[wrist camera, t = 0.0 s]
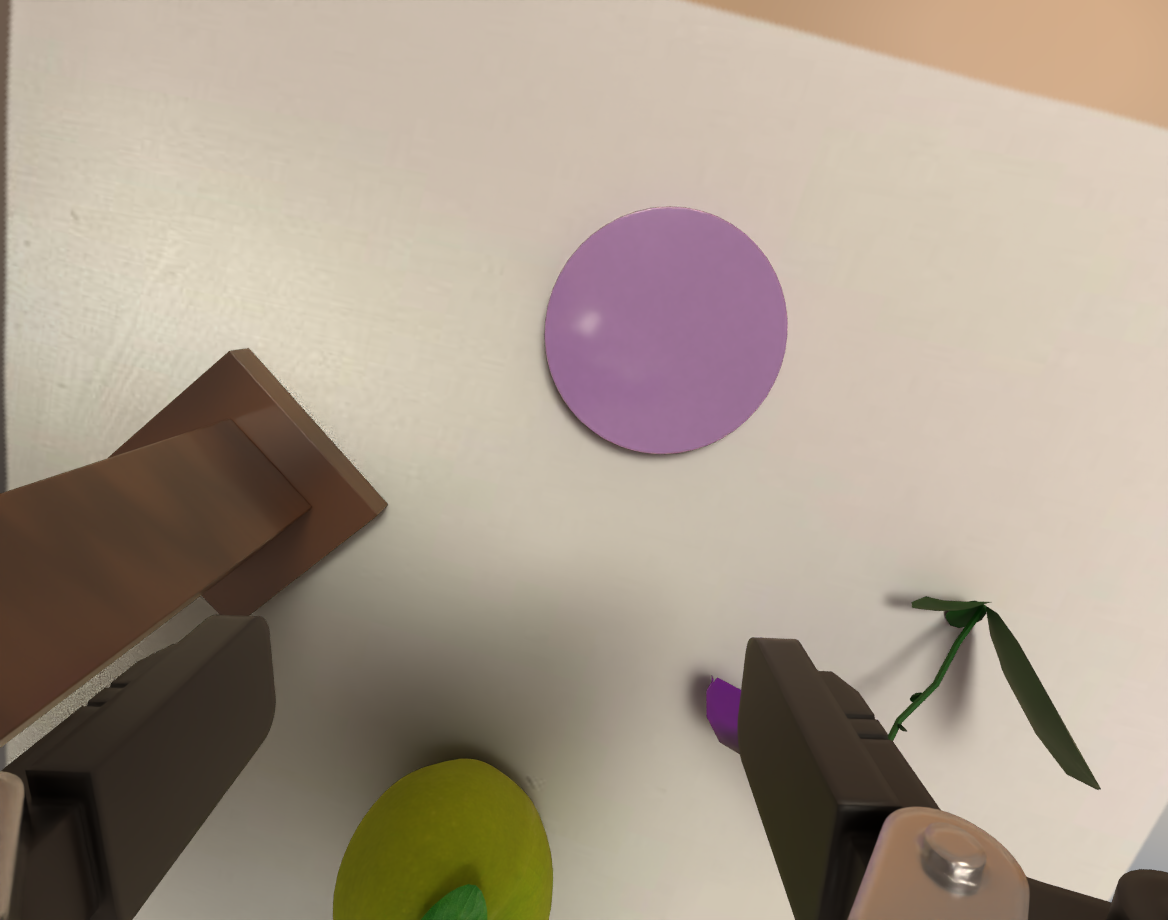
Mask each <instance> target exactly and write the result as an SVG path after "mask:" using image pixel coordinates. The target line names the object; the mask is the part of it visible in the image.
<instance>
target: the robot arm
mask: <svg viewBox="0 0 1168 920" xmlns="http://www.w3.org/2000/svg"><path fill="white" fill-rule="evenodd" d="M275 705H276V696H275V686H274V675H273V664H272V653H271V642H270V632H269V627H268V624H267V621H266V620H265V619H264V618H263V617H260V616H237V615H212V616H210V617H209V618H207V619H206V620H205V621H203V622H202V623H201V624H200V625H199V626H197V627H196V628H195V629H194V630H193V631H191V632H190V633H189V634H188V635H187V636H185V637H184V638H183V639H182V640H181V641H179V642H178V643H177V644H172V645H170V646H168V647H166V648H164V649H162V650H160V651H158V652H156V653H154V654H152V655H150V656H148V657H146V658H144V659H142V660H140V661H138V662H137V663H135V664H134V665H133V666H132V667H130V668H129V669H128V670H127V671H125V672H124V673H123V674H122V675H120V676H119V677H118V678H117V679H115V680H114V681H113V682H112V683H111V686H110V688H104V689H103V690H102V691H100V692H99V693H98V694H97V695H95V696H94V697H93V698H92V699H90V700H89V701H88V704H87V706H82V707H80V708H79V709H78V710H77V711H75V712H74V713H73V714H72V715H70V716H69V717H68V718H67V719H65V720H64V721H63V722H62V723H60V724H59V725H58V726H57V727H55V728H54V729H53V730H52V731H50V732H49V733H48V734H47V735H45V736H44V737H43V738H42V739H40V740H39V741H38V742H37V743H35V744H34V745H33V746H32V747H30V748H29V749H28V750H27V751H25V752H24V753H23V754H22V755H20V756H19V757H18V758H17V759H15V760H14V761H13V762H12V763H10V764H9V765H8V766H7V767H5V768H4V769H3V770H2V771H0V920H132V919H133V918H134V917H135V915H136V914H137V913H138V911H139V910H140V908H141V907H142V906H143V904H144V903H145V902H146V900H147V899H148V898H149V896H150V895H151V894H152V892H153V891H154V889H155V888H156V887H157V885H158V884H159V883H160V881H161V880H162V879H163V877H164V876H165V875H166V873H167V872H168V870H169V869H170V868H171V866H172V865H173V864H174V862H175V861H176V860H177V858H178V857H179V856H180V854H181V853H182V851H183V850H184V849H185V847H186V846H187V845H188V843H189V842H190V841H191V839H192V838H193V836H194V835H195V834H196V832H197V831H198V830H199V828H200V827H201V826H202V824H203V823H204V822H205V820H206V819H207V817H208V816H209V815H210V813H211V812H212V811H213V809H214V808H215V807H216V805H217V804H218V803H219V801H220V800H221V798H222V797H223V796H224V794H225V793H226V792H227V790H228V789H229V788H230V786H231V785H232V784H233V782H234V781H235V779H236V778H237V777H238V775H239V774H240V773H241V771H242V770H243V769H244V767H245V766H246V765H247V763H248V762H249V760H250V759H251V758H252V756H253V755H254V754H255V752H256V751H257V750H258V748H259V747H260V746H261V744H262V743H263V741H264V740H265V738H266V736H267V735H268V733H269V730H270V728H271V725H272V722H273V718H274V713H275ZM737 732H738V745H739V752H740V756H741V760H742V763H743V766H744V769H745V772H746V775H747V778H748V781H749V784H750V787H751V790H752V793H753V796H754V799H755V802H756V805H757V808H758V811H759V814H760V817H761V820H762V823H763V826H764V829H765V832H766V835H767V838H768V840H769V843H770V846H771V849H772V852H773V855H774V858H775V861H776V864H777V867H778V870H779V873H780V876H781V879H782V882H783V885H784V888H785V891H786V894H787V897H788V900H789V903H790V906H791V909H792V912H793V915H794V918H795V920H1168V873H1167V872H1163V871H1156V870H1144V869H1143V870H1142V869H1139V870H1134V871H1130V872H1128V873H1126V874H1124V875H1123V876H1122V877H1121V878H1120V879H1119V881H1118V884H1117V887H1116V890H1115V894H1114V897H1113V900H1112V903H1111V902H1108V901H1104V900H1101V899H1098V898H1094V897H1091V896H1087V895H1084V894H1081V893H1077V892H1074V891H1070V890H1067V889H1063V888H1060V887H1057V886H1053V885H1050V884H1046V883H1043V882H1040V881H1037V880H1034V879H1031V878H1028V877H1026V876H1025V874H1024V872H1023V870H1022V868H1021V866H1020V865H1019V864H1018V862H1017V861H1016V859H1015V858H1014V857H1013V856H1012V855H1011V853H1010V852H1009V851H1008V850H1007V849H1006V848H1005V847H1004V846H1003V845H1002V844H1001V843H999V842H998V841H997V840H996V839H995V838H993V837H992V836H991V835H989V834H988V833H987V832H985V831H984V830H982V829H981V828H979V827H977V826H976V825H974V824H973V823H971V822H969V821H967V820H965V819H963V818H961V817H958V816H956V815H953V814H951V813H948V812H945V811H941V810H940V808H939V807H938V806H937V804H936V803H935V801H934V800H933V798H932V797H931V795H930V794H929V793H928V791H927V790H926V788H925V787H924V785H923V784H922V783H921V781H920V780H919V778H918V777H917V775H916V774H915V772H914V771H913V770H912V768H911V767H910V765H909V764H908V762H907V761H906V760H905V758H904V757H903V755H902V754H901V752H900V751H899V750H898V748H897V747H896V745H895V744H894V742H893V741H892V740H889V738H888V734H887V732H886V731H885V729H884V728H883V727H882V725H881V724H880V722H879V721H878V720H875V717H874V714H873V712H872V711H871V709H870V708H869V706H868V705H867V704H866V702H865V701H864V699H863V698H862V696H861V695H860V694H859V692H858V691H857V690H855V689H854V688H853V687H851V686H850V685H849V684H847V683H846V682H845V681H843V680H842V679H841V678H839V677H838V676H837V675H836V674H834V673H833V672H828V671H817V669H816V667H815V666H814V664H813V663H812V661H811V659H810V658H809V656H808V655H807V653H806V651H805V650H804V648H803V647H802V645H801V643H800V642H799V641H798V640H796V639H777V638H750V639H749V641H748V644H747V648H746V654H745V662H744V671H743V679H742V688H741V696H740V704H739V713H738V725H737Z"/></svg>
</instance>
